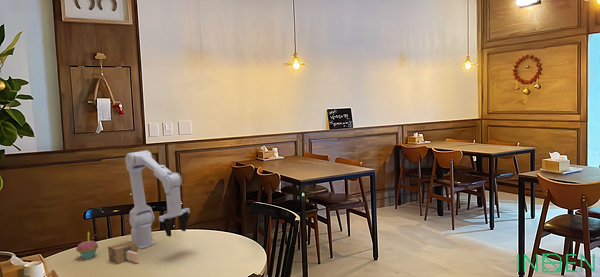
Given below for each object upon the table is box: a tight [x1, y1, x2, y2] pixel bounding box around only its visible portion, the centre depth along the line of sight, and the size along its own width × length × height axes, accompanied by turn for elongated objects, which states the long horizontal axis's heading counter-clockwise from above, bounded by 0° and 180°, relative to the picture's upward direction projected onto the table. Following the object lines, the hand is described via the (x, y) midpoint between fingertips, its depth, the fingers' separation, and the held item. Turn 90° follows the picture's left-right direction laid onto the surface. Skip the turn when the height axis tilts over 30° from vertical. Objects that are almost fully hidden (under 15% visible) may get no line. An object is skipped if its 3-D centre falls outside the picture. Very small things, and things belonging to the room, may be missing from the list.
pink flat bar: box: [124, 250, 140, 264], centre depth 187 cm, size 12×1×4 cm, turn 53°
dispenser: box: [107, 239, 138, 265], centre depth 190 cm, size 8×9×6 cm
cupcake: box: [75, 231, 99, 260], centre depth 193 cm, size 9×8×12 cm
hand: (176, 233), depth 189 cm, fingers open, 7 cm apart
